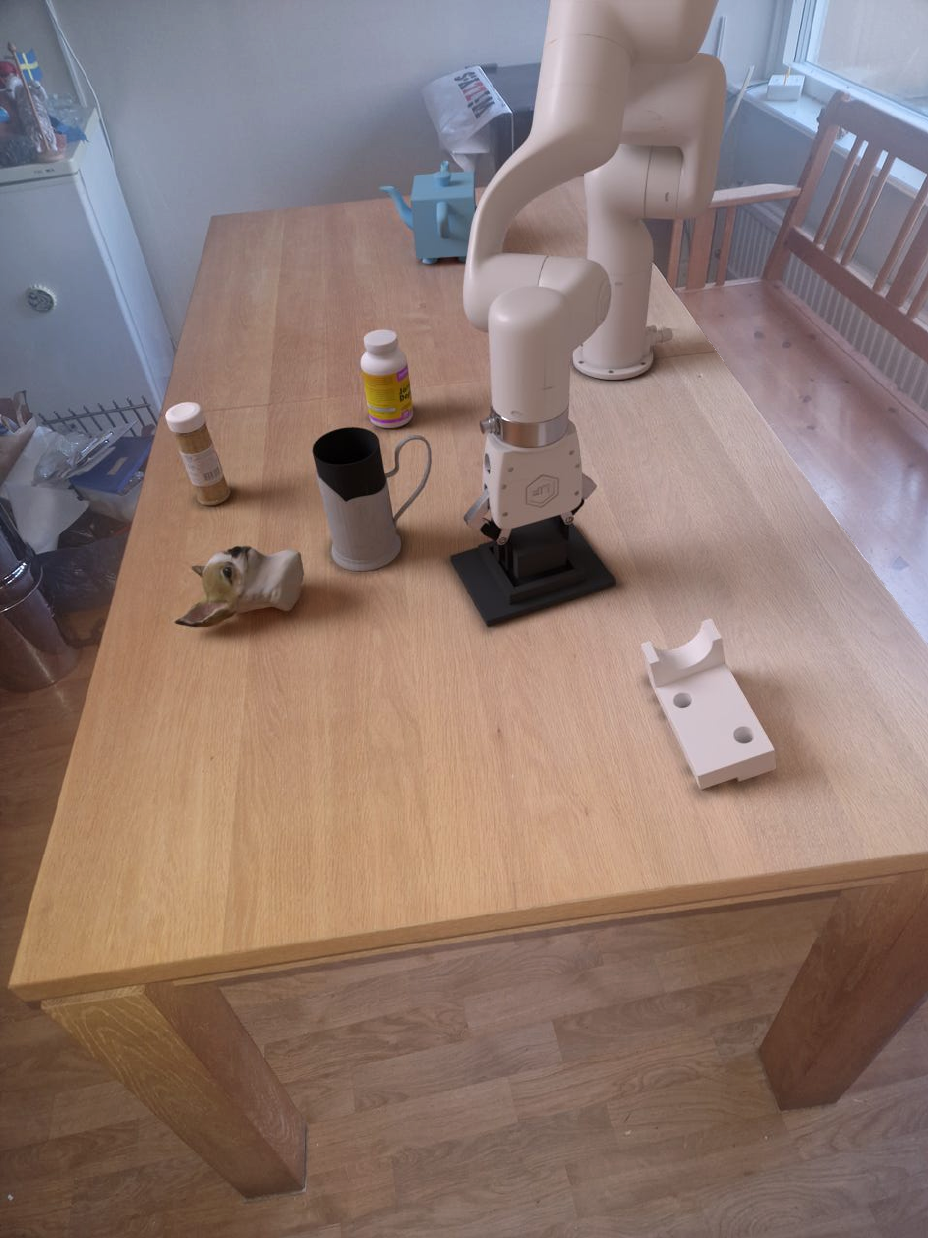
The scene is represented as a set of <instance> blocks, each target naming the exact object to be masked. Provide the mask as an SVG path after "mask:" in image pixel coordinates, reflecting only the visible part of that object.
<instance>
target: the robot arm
mask: <svg viewBox="0 0 928 1238" xmlns="http://www.w3.org/2000/svg"><path fill="white" fill-rule="evenodd" d="M549 1H550V2H549V7H548V8H549V9H548V17H547V23H546V30H545V36H544V43H543V48H542V49H543V50H542V56H541V63H540V69H539V75H538V76H539V77H538V83H537V90H536V97H535V103H534V109H533V118H532V125H531V129H530V131H529V135H528V136H527V138H526V139H525V141H524V142H523V143H522V144H521V145H520V146H519V147H518V148H517V149H516V150H515V151H514V152H513V153H512V154H511V155H510V156H509V157H508V159H507V160H506V161H505V162H504V163H503V164H502V166H501V167H500V168H499V170H498V171H497V172H496V173H495V174H494V176H493V178H492V179H491V181H490V182H489V183H488V185H487V187H486V188H485V190H484V192H483V194H482V196H481V198H480V199H479V202H478V204H477V205H476V206H477V209H476V211H475V214H474V218H473V221H472V225H471V231H470V238H469V245H468V252H467V259H466V262H465V266H464V274H463V286H462V304H463V310H464V314H465V317H466V319H467V321H468V322H469V323H470V325H471V326H472V327H473V328H475V329H476V330H478V331H480V332H483V333H486V334H488V345H489V346H488V347H489V349H488V350H489V367H490V368H489V369H490V390H491V405H490V406H489V411H490V414H489V417H486V418H485V419H482V420H480V421H479V428H480V432H481V433H482V435H487V436H486V441H485V446H484V451H483V461H482V477H481V479H482V480H481V481H482V483H481V484H482V485H481V489H482V490H481V491H482V492H481V494H480V496H478V497H477V499H476V500H475V502H474V503H473V504H472V505H471V507H469V509H468V510H467V512H466V513H465V514H464V516H463V521H464V523H465V524H466V526H467V527H468V528H470V529H472V530H474V531H475V532H479V533H481V534H482V535H483V536H485V537H487V538H489V539H491V540H493V548H494V555H495V558H496V559H497V561H498V562H499V561H501V562H502V563H503V565H504V566H505V568H506V569H507V570H509V569H512V542H511V541H510V539H509V535H510V532H511V530H512V529H513V528H516V527H520V526H524V525H527V524H530V523H534V522H537V521H540V520H544V519H547V518H549V519H550V520H551V522H552V523H553V524H554V526H555V527H556V528H557V530H558V531H559V533H560V534H562V536H563V537H564V539H565V540H566V541H567V540H568V539H569V524H571V523H574V521H575V517H574V516H575V515H576V514H577V512H579V510H580V509H581V508H582V507H583V506H584V504H585V500H588V499H589V497H590V496H591V495H592V494H593V493H594V492H595V491H596V489H597V488H598V485H597V484H596V482H595V481H594V480H593V479H592V477H590V476H588V475H587V474H586V473H584V472H583V465H582V456H581V448H580V441H579V436H578V431H577V427H576V425H575V423H574V422H573V421H572V420H570V419H569V415H570V414H569V413H570V412H569V411H570V384H571V355H572V363H573V367H575V369H576V370H577V371H579V372H581V374H583V375H586V376H588V377H590V378H594V379H598V380H606V381H619V380H620V381H621V380H628V379H632V378H635V377H638V376H639V375H642V374H644V373H645V372H647V371H648V370H649V369H650V368H651V366H652V364H653V362H654V352H653V350H652V348H653V347H655V346H656V344H659V343H660V344H661V343H666V342H669V341H672V339H673V335H674V334H673V330H672V329H671V327H666V328H663V329H659V330H658V328H657V325H656V324H653V325H648V326H647V323H648V313H649V303H650V296H651V295H650V294H651V285H652V274H653V265H654V256H655V248H654V242H653V238H652V236H651V233H650V231H649V229H648V228H647V226H646V224H645V222H644V221H643V220H644V219H645V220H646V219H654V220H656V219H657V220H676V221H677V220H678V221H686V220H688V221H689V220H695V219H698V218H700V217H701V216H703V215H704V214H705V213H706V212H707V211H708V209H709V208H710V206H711V204H712V202H713V199H714V195H715V192H716V188H717V187H716V186H717V181H718V174H719V165H720V158H721V157H720V156H721V148H722V140H723V133H724V132H723V131H724V122H725V114H726V107H727V106H726V105H727V92H728V91H727V89H728V88H727V87H728V85H727V83H728V82H727V81H728V80H727V74H726V70H725V67H724V64H723V63H722V60H720V59H719V58H718V57H717V56H716V55H713V54H710V53H704V52H700V50H701V48H702V47H703V45H704V42H705V40H706V38H707V36H708V32H709V29H710V27H711V25H712V21H713V17H714V15H715V12H716V9H717V7H718V4H719V2H720V0H549ZM581 176H583V189H584V197H585V198H584V199H585V207H586V219H587V248H586V249H587V250H586V258H583V257H582V258H581V257H570V256H554V255H549V254H531V253H518V252H503V248H504V242H505V239H506V235H507V233H508V231H509V228H510V226H511V224H512V223H513V222H514V220H515V218H516V217H517V216H518V215H519V214H520V212H521V211H522V210H523V209H524V208H525V207H526V206H528V204H530V203H531V202H533V201H534V200H535V199H537V198H539V197H540V196H541V195H543V194H545V193H548V192H549V191H551V190H552V189H554V188H557V187H559V186H561V185H563V184H565V183H567V182H570V181H571V180H574V179H576V178H579V177H581ZM489 511H490V513H491V518H490V519H488V518H486V517H485V516H486V515H487V513H488V512H489Z"/></svg>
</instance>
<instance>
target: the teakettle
mask: <svg viewBox="0 0 928 1238" xmlns="http://www.w3.org/2000/svg"><path fill="white" fill-rule="evenodd" d="M450 170H451V169H450V162H449V161H448V160H443V161H441V163H440V171H436V172H435V173H429V174H415V175H414V176H413V183H412V189H411V195H410V201H409V202H410V207H409V206H408V205H407V203H406V201H405V200H404V197H403V196H402V193H401V192H400V190H399V189H397V187H394V186H392V185H383V186H382V185H381V186H378V189H379V190H381V191H383V192H384V193H387V194H388V195H389V196H390V198H391V199H392V200H393V203H394V205H395V207H396V209H397V212H398V215H399V217H400V219H401V222H403V224H404V225H405V226H406V228H408V229H409V230H411V231H413V240H414V247H415V248H414V249H415V258H416V260H421V259H422V263H423V264H427V265H430V264H431V265H432V264H435V263H437V262H438V258H439V259H441V258H453V257H457V259H458V261H460V262H462V263H463V262H464V263H466V259H467V252H468V245H469V238H470V231H471V225H472V221H473V218H474V214H475V211H476V209H477V206H478V205H477V203H476V202H477V200H476V198H477V197H476V179H475V171H461V172H451V171H450Z"/></svg>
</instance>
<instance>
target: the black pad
mask: <svg viewBox="0 0 928 1238" xmlns="http://www.w3.org/2000/svg"><path fill="white" fill-rule="evenodd" d="M509 539H510V541H511V542H512V571H513V573H514V574H515V576H516V577H517V579H522V578H525V577H528V576H531V575H534V574H538V573H541V572H544V571H547V570H550V569H554V568H557V567H560V566H563V565H566V549H567V541H566V540H565V539H564V537H563V536H562V534H560V533H559V531H558V530H557V528H556V527H555V526H554V524H553V523H552V522H551V520H550V519H549V518H547V519H544V520H540V521H537V522H534V523H530V524H527V525H524V526H520V527H516V528H513V529H512V530H511V532H510V535H509Z"/></svg>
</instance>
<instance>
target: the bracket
mask: <svg viewBox="0 0 928 1238" xmlns="http://www.w3.org/2000/svg"><path fill="white" fill-rule="evenodd" d="M723 641H724V640H723V636H722V635H721V633H720V632H719V630H718V628H717V626H716V625H715V623H714V621H713V619H712V618H708V619H705V620H703V621H701V626H700V629H699V631H698V632H697V634H696V635H695V636H694V637H693V638H692V639H691V640H689V642H687V643H685V644H683V645H682V646H678V647H676V648H671V649H660V648H657V647H655V646H654V645H652V642H651V641H650V640H648V641H645V642H643V643H640V648H641V651H642V655H643V660H644V663H645V667H646V671H647V676H648V679H649V683H650V685H651V687H652V689H653V691H654V693H655V695H656V697H657V700H658V702H659V704H660V706H661V709H662V710H663V713H664V714H665V715H664V716H665V718H666V719H667V721H668V724H669V725H670V728H671V729H672V732H673V734H674V736H675V738H676V741H677V743H678V745H679V747H680V749H681V751H682V753H683V755H684V757H685V760H686V762H687V764H688V766H689V769H690V770H691V773H692V774H693V777H694V779H695V782H696V783H697V785H698V788H699V790H700V791H702V790H704V789H708V788H710V787H713V786H716V785H720V784H722V783H725V782H727V781H731V780H733V779H736V780H737V782H738V783H740V782H743V781H746V780H748V779H751V778H755V777H757V776H760V775H764V774H766V773H769V772H771V771H774V770H776V769H777V763H776V762H777V761H776V750H775V749H776V748H774V745H773V744H772V742H771V740H770V739H769V737H768V735H767V733H766V732H765V730H764V728H763V726H762V725H761V723H760V721H759V719H758V717H757V715H756V714H755V712H754V710H753V709H752V707H751V705H750V703H749V702H748V700H747V698H746V696H745V694H744V693H743V691H742V689H741V688H740V686H739V684H738V682H737V680H736V679H735V677H734V675H733V673H732V672H731V670H730V668H729V666H728V664H727V663H726V655H725V649H724V642H723Z"/></svg>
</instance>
